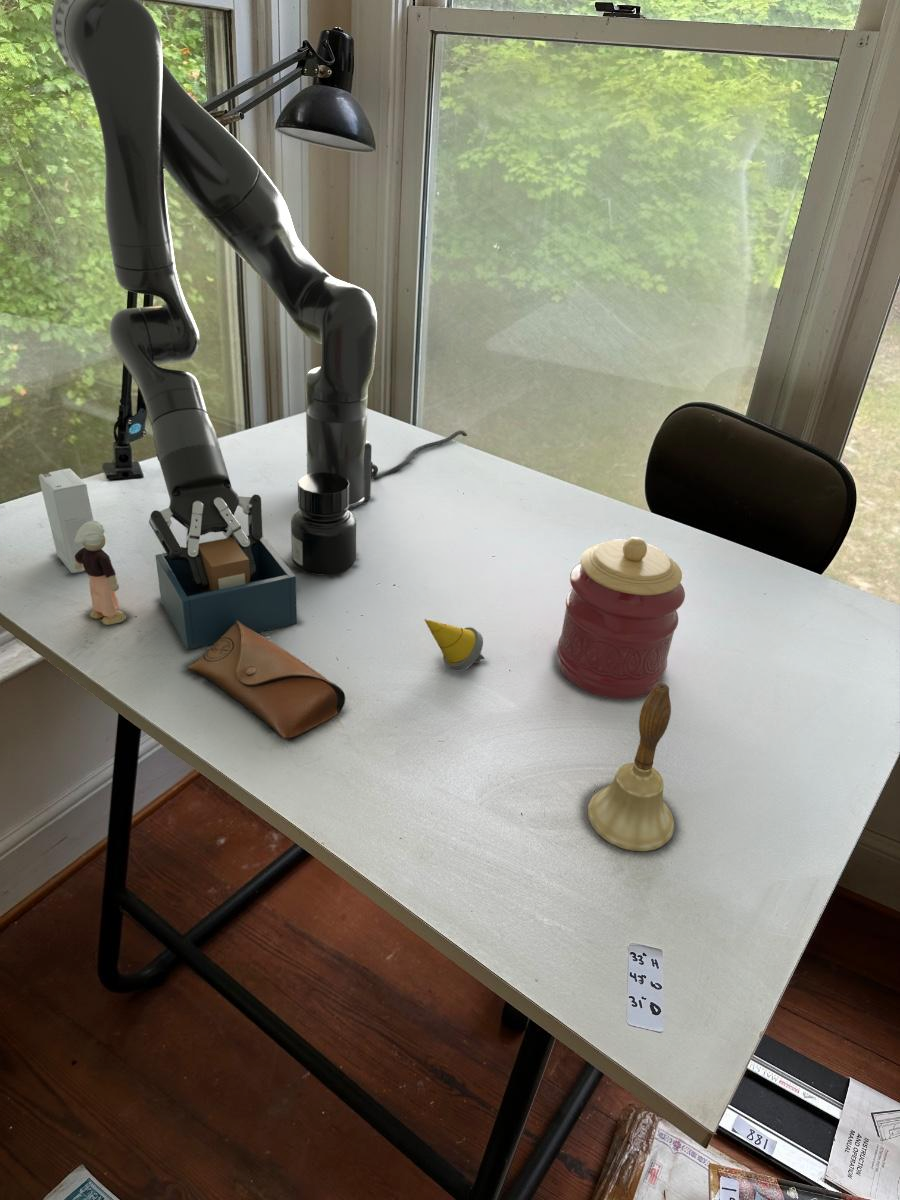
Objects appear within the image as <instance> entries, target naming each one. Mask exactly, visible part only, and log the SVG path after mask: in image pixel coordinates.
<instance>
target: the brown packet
mask: <svg viewBox="0 0 900 1200" xmlns="http://www.w3.org/2000/svg"><path fill="white" fill-rule="evenodd" d="M198 556H199V557H201V559H202V562H203V565H204V569H205V572H206V576H207V579H208V583H209V587H208V589H207V590H203V591H201V593H206V592H210V591H215V590H220V589H224V588H229V587H233V586H238V585H243V584H247V583H250V571H249V559H248V558H247V556H246V555H245V554H244V552H243V551H242V550H241V548H240V547H239V546H238V544H237V543H236V542H235V540H234V539H233V537H230V538H226V537H225V538H220V539H215V540H210V541H204V542H199V549H198Z"/></svg>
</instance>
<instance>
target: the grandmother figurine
mask: <svg viewBox="0 0 900 1200" xmlns="http://www.w3.org/2000/svg"><path fill="white" fill-rule="evenodd" d="M74 541H75V542H76V543H78V544H83V546H84V548H82V549H81V550H79V551H78V552H77V553H76V554H75V559H76V561H75V562H76V563H75V567H76V568H77V569H82V568H83V567H84V569H85V571H84V572H85V574H86V575H87V577H88V581H89V582H88V585H89V592H90V597H91V603H92V608H93V610H91V612H90V613H89V616H90V617H91V618H92V619H101V618H102V620H101V622H102V624H103V625H106V626H107V625H109V626H111V625H114V624H119V623H122V622H124V621H126V619H127V615H126V614H125V613H124V611H121V610H117V609H118V608H119V606H120V603H119V599H118V596H117V591H119V589H120V585H119V583H118V579H117V575H116V571H115V569H114V566H113V564H112V561H111V557H110V556H109V554H107V552H105V551H104V550H103V548H104V547H105V545H106V542H107V541H106V536H105V528H104V526H103V524H102V523H101V522H99V521H98V520H93V521H90V522H87V523H85V524H84V525H82V526H81V527H80V529H79V530H78V532H77V535H76V537H75V540H74Z"/></svg>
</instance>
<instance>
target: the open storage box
mask: <svg viewBox="0 0 900 1200" xmlns="http://www.w3.org/2000/svg"><path fill="white" fill-rule="evenodd" d="M251 553H252V556H253V559H254V563H255V566H256V572H255V573H254V575H253V578H252V579H251V581H250V583H247V584H243V585H238V586H233V587H229V588H224V589H220V590H215V591H210V592H206V593H201V590H200V587H199V586H198V587H195V585H194V584H193V582H192V578H191V575H190V571H189V567H188V564H187V563H186V562H185V561H182V560H175V561H173V560H171V559H170V558H169V557H168V555H167V553H166V552H162V553H158V554H155V562H156V570H157V571H156V572H157V578H158V586H159V594H160V601H161V603H162V605H163V607H164V609H165V611H166V612H167V615H168V616H169V618H170V620H171V622H172V624H173V625H174V627H175V629H176V631H177V633H178V635H179V637H180V639H181V640H182V642H183V644H184V646H185V648H186V649H187V651H190V650H194V649H197V648H203V647H206V646H210V645H214V643H215V642H217V640H219V639H220V638H221V637H222V636H223V635H224V634H225V633H226V632H227V631H228V630H229V629H230V628H231V627H232V626H233V625H234V624H235V623H236V621H235V620H238V621H239V622H240V623H242V624H243V625H245V626H246V627H248V628H250V629H251V630H253V631H255V632H256V633H258V634H260V633H262V632H263V633H264V632H267V631H272V630H275V629H279V628H283V627H287V626H291V625H295V624H298V606H297V604H298V603H297V576H296V575H295V574H294V572H293V571H292V569H290V567H289V566H288V565H287V564H286V562H285V561H284V559H282V557H281V556H280V555H279V554H278V552H277V551H276V550H275V548H274V547H273V546H272V545H271V543H270V542H269V541H268V540H267V539H266V538H265V536H264V535H263V536H262V538H261V539H260V541H259V543H258V544H257V545H255V546H252V547H251Z"/></svg>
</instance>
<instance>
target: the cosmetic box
mask: <svg viewBox="0 0 900 1200" xmlns="http://www.w3.org/2000/svg"><path fill="white" fill-rule="evenodd" d="M38 479H39V485H40V488H41V493H42V497H43V498H42V499H43V501H44V506H45V509H46V513H47V518H48V522H49V527H50V531H51V534H52V535H51V536H52V539H53V543H54V548H55V552H56V556H57V557H58V558H59V559H60V561H61V562H62V563H63V564H64V565H65V567H66V568H67V569H68V571H69V572H70V573H71V574H76V573H82V572H85V569H84V567H83V568H82V569H77V568H76V567H75V563H76V562H75V561H76V559H75V554H76V553H77V552H78V551H79V550H81V549H82V548H84V546H83V544H78V543H76V542H75V541H74V540H75V537H76V535H77V532H78V530H79V529H80V527H81V526H82V525H84V524H85V523H87V522H90V521H94V517H93V511H92V506H91V502H90V497H89V491H88V486H87V483H86V482H85V481H83V479H81V477H80V476H79V475H78V474H76V473H75V472H74V471H73V469H71V467H69V468H63V469H59V470H55V471H54V470H53V471H49V472H44V473H40V474H38Z"/></svg>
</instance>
